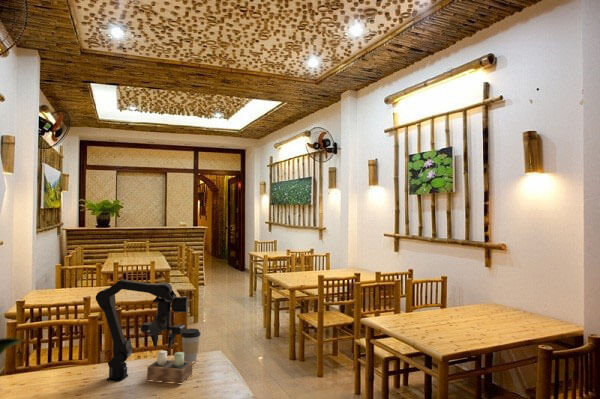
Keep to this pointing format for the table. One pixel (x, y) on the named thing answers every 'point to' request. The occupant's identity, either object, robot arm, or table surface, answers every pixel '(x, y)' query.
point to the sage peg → (179, 359)
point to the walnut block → (169, 372)
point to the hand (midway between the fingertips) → (162, 347)
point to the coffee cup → (190, 344)
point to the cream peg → (162, 358)
